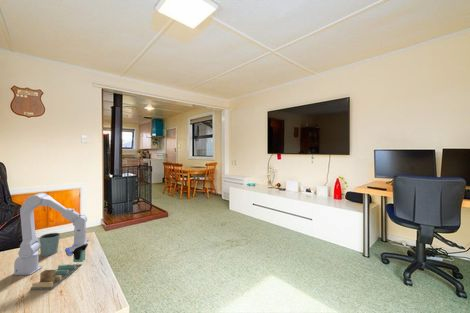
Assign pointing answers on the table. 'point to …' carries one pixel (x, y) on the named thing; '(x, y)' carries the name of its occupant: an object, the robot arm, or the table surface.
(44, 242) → the grey-green bucket
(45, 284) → the slot comb
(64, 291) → the table surface
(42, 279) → the walnut plug
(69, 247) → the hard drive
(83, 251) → the teal plug
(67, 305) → the table surface
